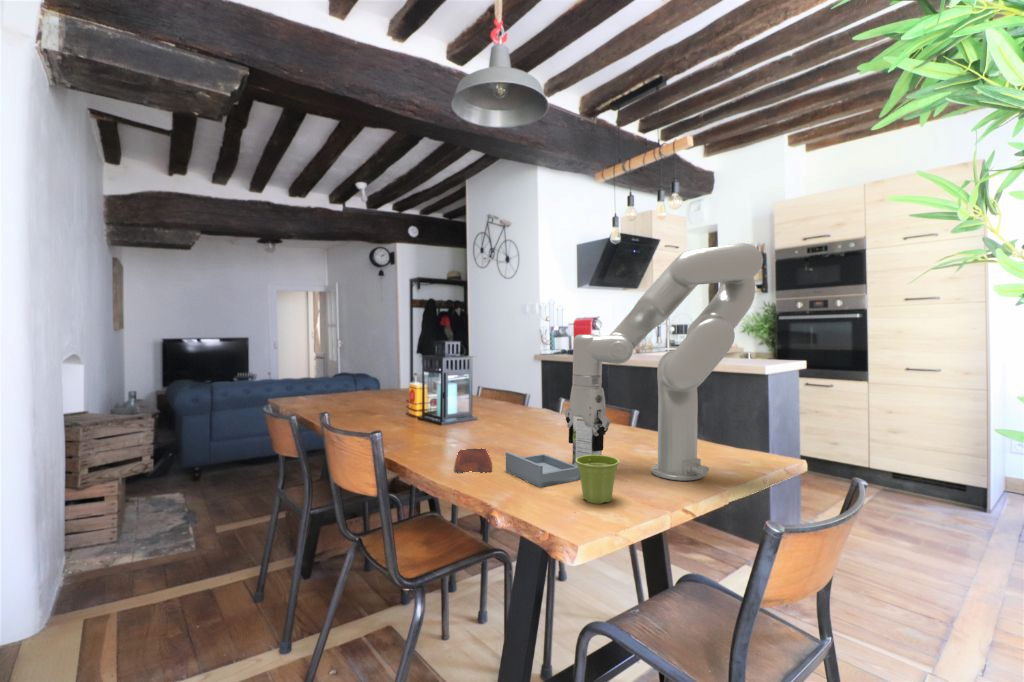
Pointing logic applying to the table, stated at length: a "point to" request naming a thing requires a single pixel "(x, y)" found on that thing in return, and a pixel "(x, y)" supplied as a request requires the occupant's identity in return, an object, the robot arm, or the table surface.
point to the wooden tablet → (473, 461)
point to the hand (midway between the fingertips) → (585, 446)
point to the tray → (541, 469)
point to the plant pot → (597, 477)
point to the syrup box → (582, 439)
